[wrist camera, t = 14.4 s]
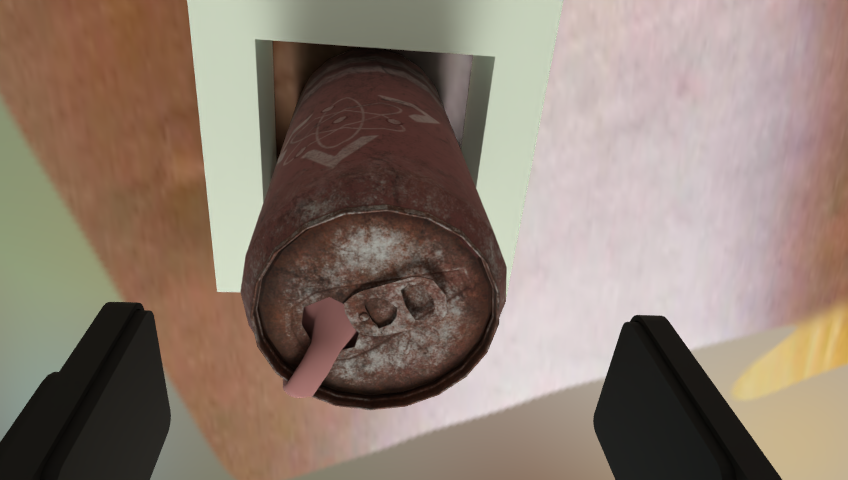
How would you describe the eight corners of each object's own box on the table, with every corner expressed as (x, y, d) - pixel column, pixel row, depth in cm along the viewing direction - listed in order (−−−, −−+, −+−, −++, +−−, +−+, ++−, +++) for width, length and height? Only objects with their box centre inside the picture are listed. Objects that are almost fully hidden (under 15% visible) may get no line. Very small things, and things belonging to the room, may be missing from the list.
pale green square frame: (533, -16, 23) (563, -2, 19) (488, 250, 28) (506, 297, 25) (213, -44, 21) (183, -34, 18) (235, 242, 27) (217, 291, 24)
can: (269, 146, 25) (179, 372, 13) (344, 14, 23) (323, 138, 10) (389, 212, 27) (410, 461, 15) (469, 98, 25) (573, 282, 12)
